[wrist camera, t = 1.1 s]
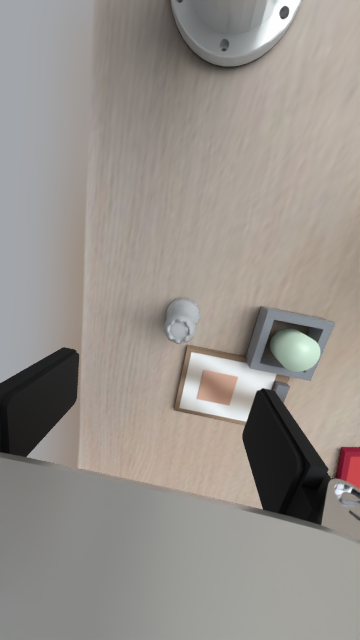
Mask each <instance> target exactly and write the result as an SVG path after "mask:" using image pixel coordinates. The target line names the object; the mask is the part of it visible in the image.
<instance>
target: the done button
mask: <svg viewBox="0 0 360 640" xmlns="http://www.w3.org/2000/svg"><path fill="white" fill-rule="evenodd" d="M270 350H271V353H272V354H273V355H274V356H275V357H276V359H277V360H278V361H279V362H280V363H281V364H282V365H283V366H284V367H285V368H286V369H288V370H290V371H293V372H302V371H306V370H308V369H310V368H311V367H313V366H314V365H315V364H316V363H317V361H318V360H319V357H320V347H319V345H318V343H317V342H316V341H315V340H313V339H312V338H310V337H308V336H307V335H305V334H303V333H302V332H300V331H298V330H296V329H292V328H287V329H283V330H280V331H278V332H277V333H276V334H275V335H274V336H273V337H272V339H271V341H270Z"/></svg>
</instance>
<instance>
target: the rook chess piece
mask: <svg viewBox="0 0 360 640" xmlns="http://www.w3.org/2000/svg"><path fill="white" fill-rule="evenodd" d="M199 314H200V312H199V309H198V306H197V305H196V304H195V302H194V301H192V300H190V299H188V298H178V299H175V300H174V301H173V302H171V303H170V305H169V307H168V309H167V316H166V317H167V320H166V321H165V323H164V332H165V335H166V336H167V338H168V339H169V340H170V341H172V342H174V343H177V344H181V343H186V342H188V341H189V340H191V339H192V337H193V336H194V334H195V325H196V324H197V322H198V320H199Z"/></svg>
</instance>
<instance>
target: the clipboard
mask: <svg viewBox="0 0 360 640" xmlns="http://www.w3.org/2000/svg"><path fill="white" fill-rule="evenodd" d="M246 360H247V358H246V357H245V356H240V355H235V354H230V353H225V352H220V351H215V350H210V349H205V348H200V347H195V346H190V345H188V346H187V351H186V355H185V360H184V365H183V370H182V374H181V379H180V384H179V389H178V393H177V398H176V403H175V407H174V410H176V411H181V412H185V413H190V414H195V415H200V416H205V417H209V418H214V419H219V420H224V421H228V422H233V423H238V424H243V425H246V422H247V419H248V416H249V413H250V410H251V407H252V404H253V401H254V398H255V395H256V392H257V391H258V390H261V389H262V388H265V389H269V390H274V391H275V392H276V393H277V395H278V396H279V398H280V399H281V401H282V402H283V403H284V400H285V398H286V395H287V393H288V390H289V388H290V387H289V386H288V384H287V382H288V379H289V376H284V375H279V374H274V373H269V372H264V371H259V370H254V369H250V368H249V366H248V364H247V363H246Z"/></svg>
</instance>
